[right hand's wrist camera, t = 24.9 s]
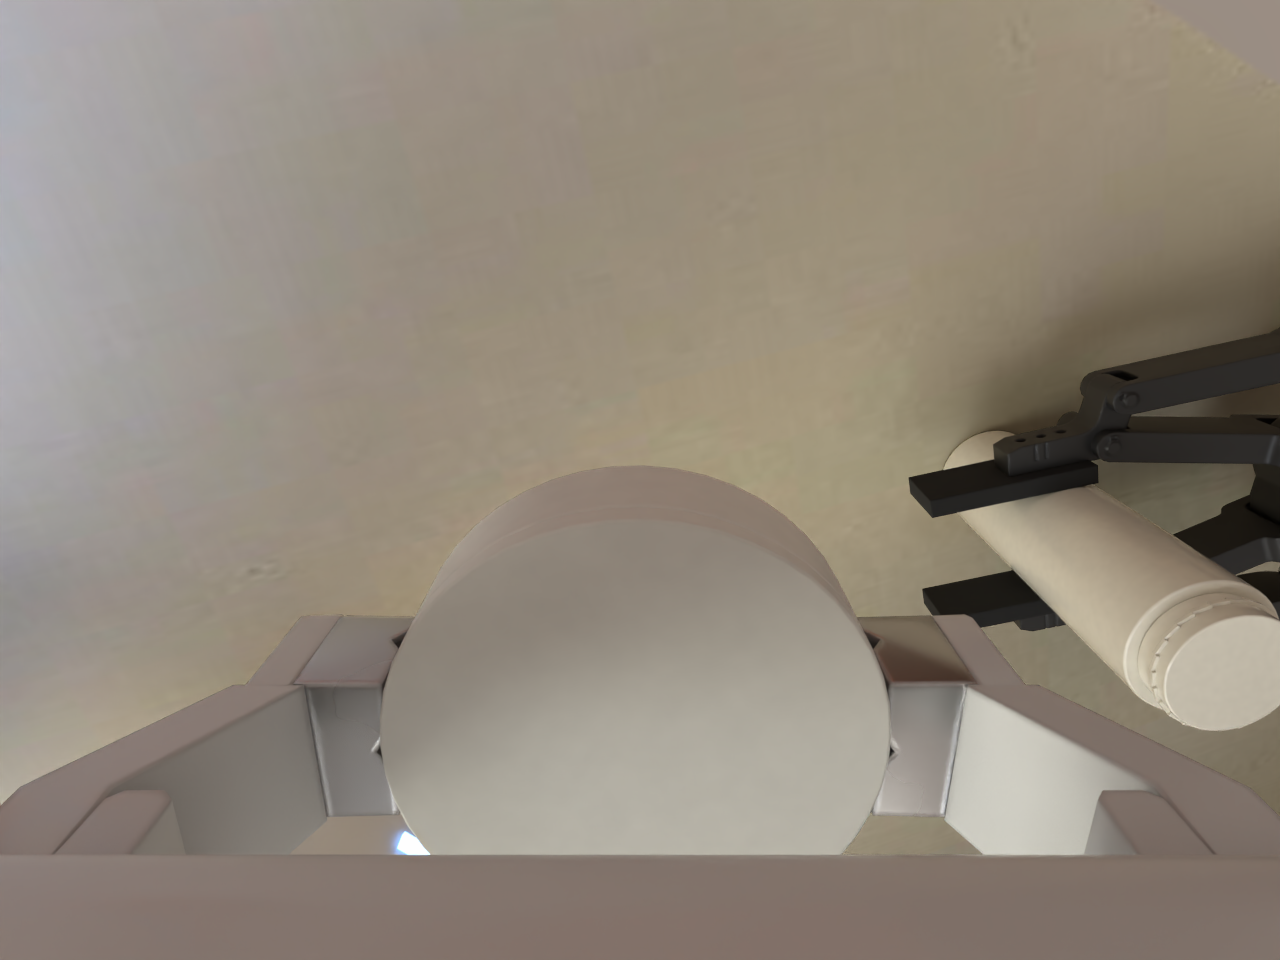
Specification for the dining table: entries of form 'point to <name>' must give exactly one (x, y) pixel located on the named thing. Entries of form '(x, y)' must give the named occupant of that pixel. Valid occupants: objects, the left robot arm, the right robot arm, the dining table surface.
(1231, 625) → the beige cylinder
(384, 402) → the dining table surface
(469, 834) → the lid
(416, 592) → the dining table surface
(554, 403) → the dining table surface
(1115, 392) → the left robot arm
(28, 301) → the dining table surface
